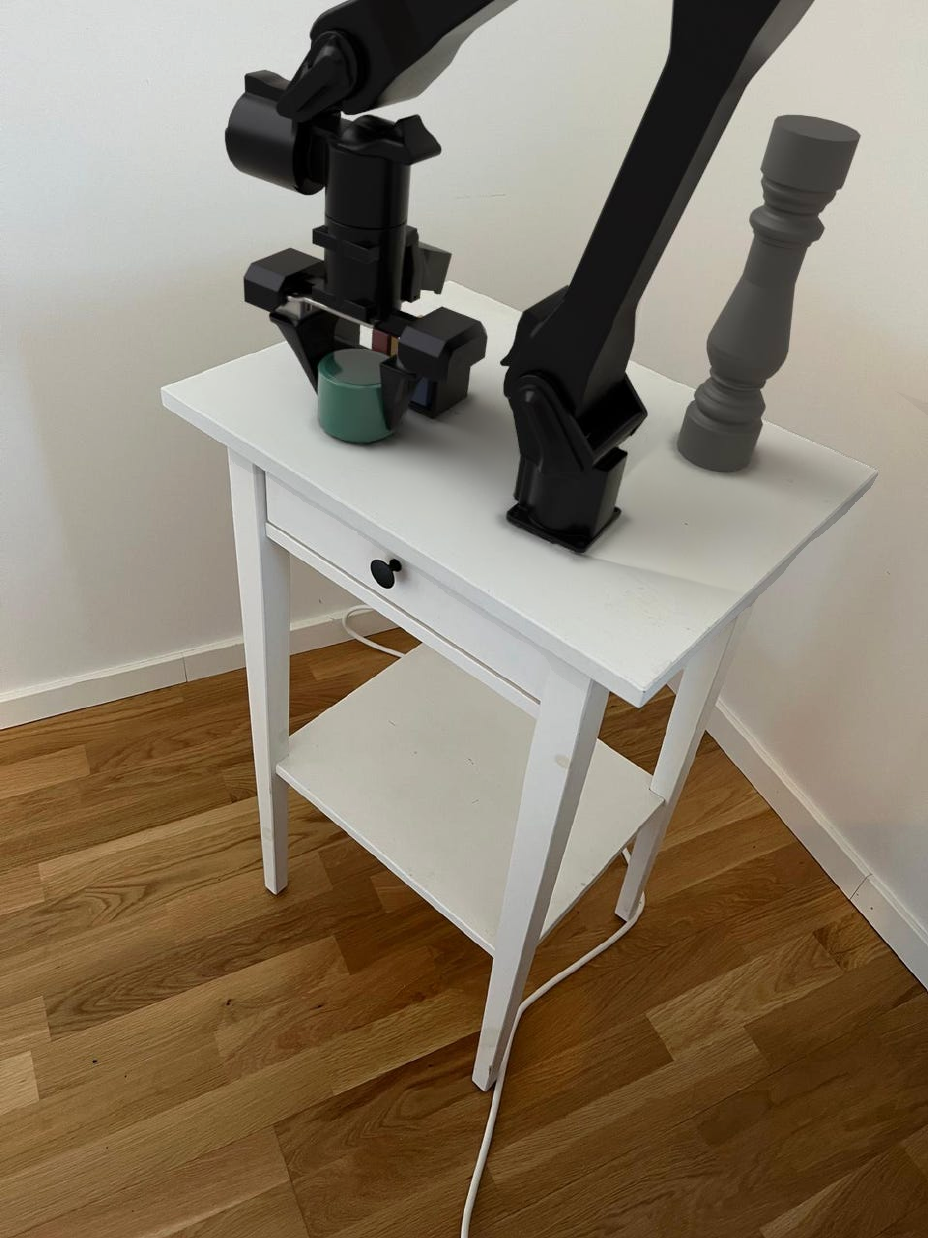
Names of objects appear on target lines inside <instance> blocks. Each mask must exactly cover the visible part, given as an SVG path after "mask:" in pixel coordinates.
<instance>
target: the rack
mask: <svg viewBox="0 0 928 1238" xmlns="http://www.w3.org/2000/svg"><path fill="white" fill-rule="evenodd" d="M344 349H366V350H372V349H371V348H369V347H367V346H365V345H362V344H361V325H360V324H358V323H355V322H353V321H350V320H348V319H345V318H343V317H341V316H340V318H339V320H338V323H337V325H336V328H335V341H334V352H335V351H339V350H344ZM372 351H374V350H372ZM376 352H377V351H376ZM471 368H472V366H471V367H469V368H468V369H466V370H465V371H463V372H461V373H460V374H458V375H457V376H455V377H454V378H452V379H450V380H449V381H447V382H434V385H433V396H432V403H430V404H428V405H427V406H423V405H421V404H419V403H417V402H414V401H412V400H411V401H410V403H409V405H408V408H409V409H411V410H413V411H415V412H418V413H419V414H421V415H425V416H427V417H429V418H431V419H433V420H434V419H436V418H438V417H439V416H441V415H442V414H444V413H445V412H447V411H448V410H450V409H452V408H453V407H455V406H456V405H457V404H459V403H460V402H462V401H464V400H465V399H467V398H468V395H469V394H468V393H469V392H468V391H469V384H470V376H471ZM408 408H407V409H408Z"/></svg>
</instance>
